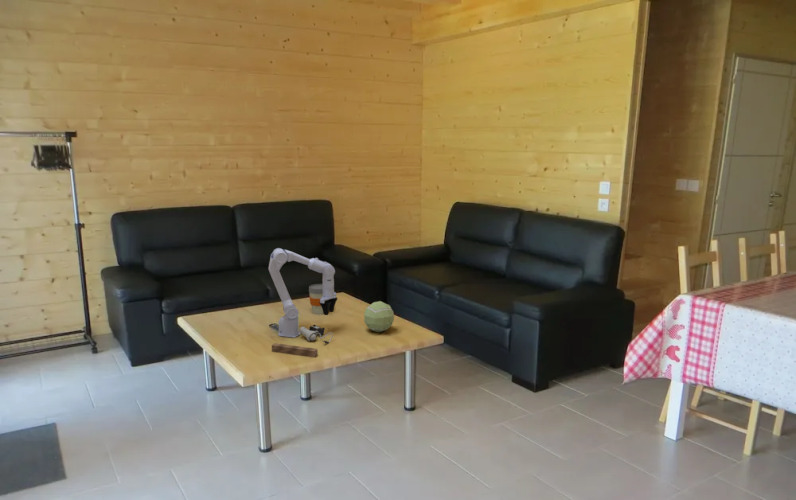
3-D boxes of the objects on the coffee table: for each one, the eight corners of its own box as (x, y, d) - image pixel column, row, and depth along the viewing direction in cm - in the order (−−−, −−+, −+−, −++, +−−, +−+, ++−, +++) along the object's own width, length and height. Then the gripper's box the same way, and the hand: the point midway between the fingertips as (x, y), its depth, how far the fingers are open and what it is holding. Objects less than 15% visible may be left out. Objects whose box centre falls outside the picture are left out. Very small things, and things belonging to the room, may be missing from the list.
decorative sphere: (399, 332, 294) (399, 304, 291) (373, 337, 286) (373, 308, 283) (384, 324, 306) (384, 297, 304) (359, 329, 299) (359, 301, 296)
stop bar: (271, 351, 266) (271, 345, 266) (275, 349, 269) (275, 343, 269) (314, 357, 259) (314, 351, 259) (317, 355, 262) (317, 348, 262)
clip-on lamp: (337, 346, 282) (314, 330, 293) (339, 334, 281) (316, 319, 292) (318, 350, 273) (295, 334, 284) (321, 338, 272) (298, 322, 283)
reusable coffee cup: (311, 308, 334) (310, 283, 331) (333, 309, 334) (332, 283, 331) (307, 315, 322) (306, 289, 319) (329, 315, 321) (329, 289, 318)
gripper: (329, 291, 283) (329, 318, 286) (341, 284, 297) (341, 310, 299) (316, 290, 285) (316, 316, 288) (329, 283, 299) (329, 308, 302)
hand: (328, 313), depth 294 cm, fingers open, 5 cm apart
